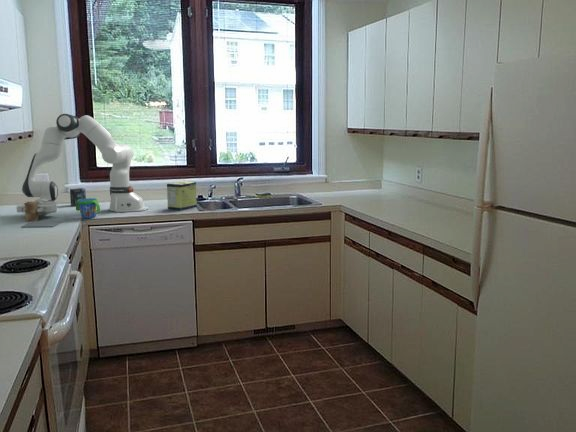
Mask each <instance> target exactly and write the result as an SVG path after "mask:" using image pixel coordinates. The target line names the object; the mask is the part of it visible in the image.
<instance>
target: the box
mask: <svg viewBox="0 0 576 432" xmlns="http://www.w3.org/2000/svg"><path fill="white" fill-rule="evenodd" d="M69 196H70V206H72V207H74V208H76V203H77V200H80V199H87V195H86V188H82V187H80V188H79V187H77V188H70V189H69Z"/></svg>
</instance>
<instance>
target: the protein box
mask: <svg viewBox="0 0 576 432" xmlns="http://www.w3.org/2000/svg"><path fill="white" fill-rule="evenodd" d="M166 192H167V194H166V195H167V196H166V197H167V199H166V200H167V210H175V211H184V210H188V209H193V208H197V205H198V204H197V182H196V181H183V180H181V181H176V182H170V183H166Z"/></svg>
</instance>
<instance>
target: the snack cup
mask: <svg viewBox="0 0 576 432" xmlns="http://www.w3.org/2000/svg"><path fill="white" fill-rule="evenodd" d="M75 210H76V211H77V212H79V213H80V216H81V218H82V219H94V218H95V217H96V216H97V214H98V213H100V212H101V206H100V203H99V202H98V199H97V198H92V197H91V198H90V197H89V198H86V199H80V200H77V203H76V206H75Z"/></svg>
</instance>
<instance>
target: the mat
mask: <svg viewBox="0 0 576 432" xmlns="http://www.w3.org/2000/svg"><path fill="white" fill-rule="evenodd" d="M62 223H63V220H37V221H29V222H27V223H25V224H23V225H21V228H22V229H23V228H25V229H26V228H27V229H28V228H54V227H57V226H58V225H60V224H62Z"/></svg>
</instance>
